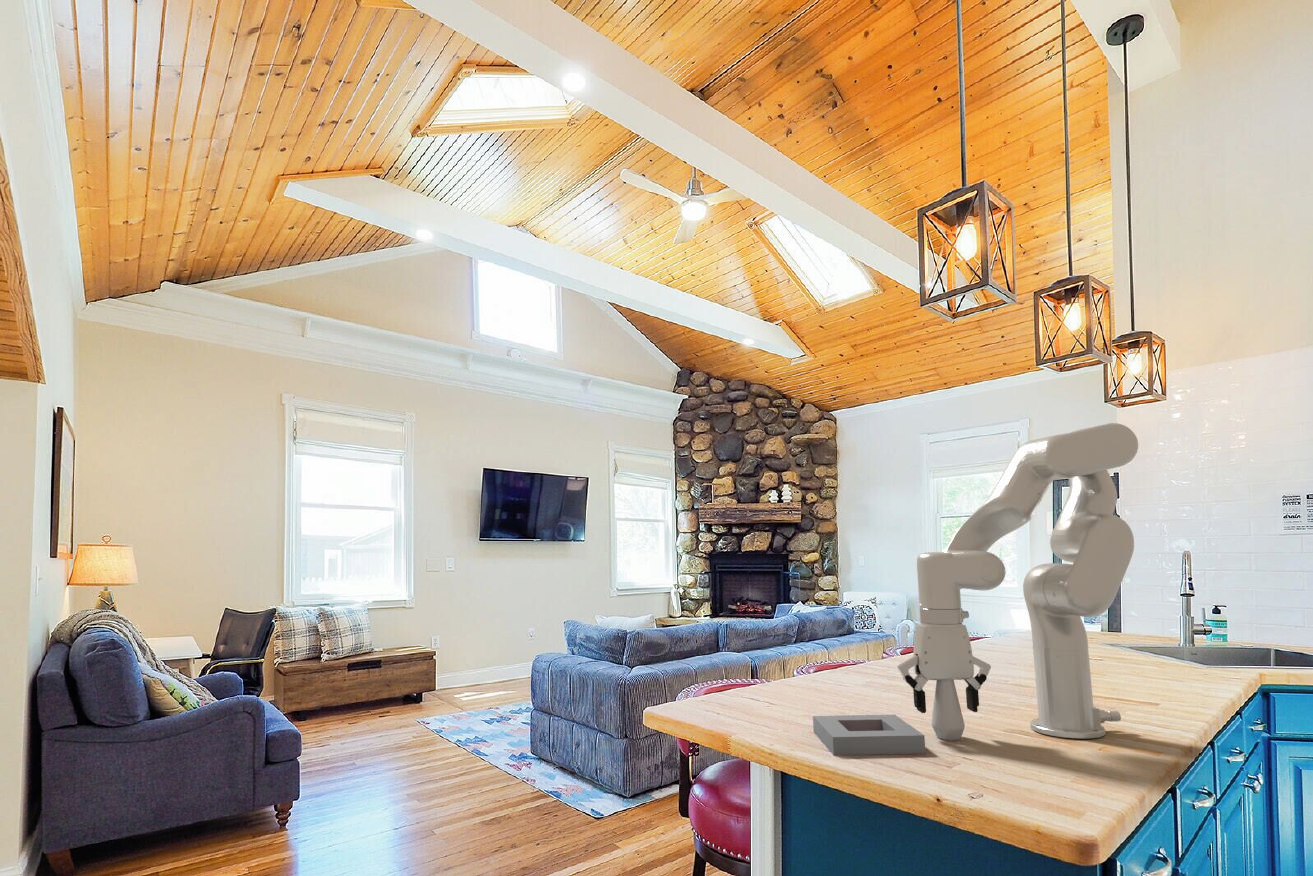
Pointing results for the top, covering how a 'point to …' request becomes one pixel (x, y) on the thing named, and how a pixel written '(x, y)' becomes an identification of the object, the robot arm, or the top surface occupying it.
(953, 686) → the white bulbous peg
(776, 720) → the top surface
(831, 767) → the top surface
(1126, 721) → the top surface
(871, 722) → the socket board
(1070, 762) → the top surface
